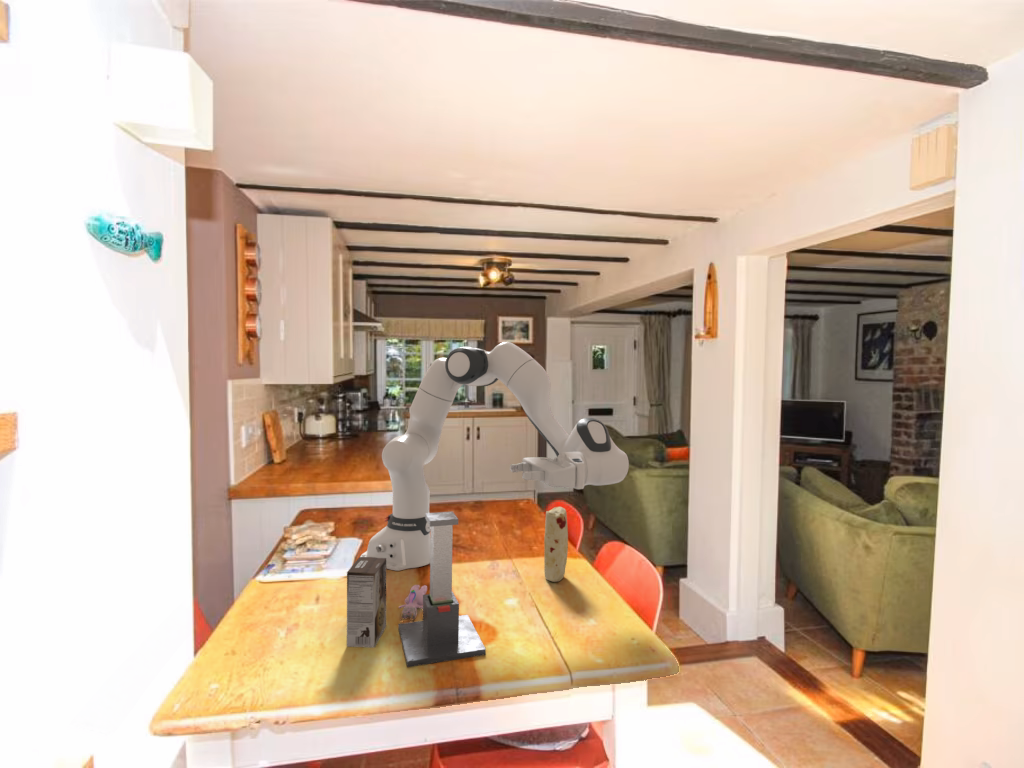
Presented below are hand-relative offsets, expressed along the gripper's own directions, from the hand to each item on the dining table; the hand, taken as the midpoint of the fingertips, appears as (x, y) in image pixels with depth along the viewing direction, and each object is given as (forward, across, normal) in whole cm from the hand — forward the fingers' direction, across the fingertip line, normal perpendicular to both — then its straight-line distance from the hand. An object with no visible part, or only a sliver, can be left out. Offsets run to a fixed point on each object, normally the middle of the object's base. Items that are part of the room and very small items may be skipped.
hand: (516, 472), depth 130 cm
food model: (-17, -16, +34) cm, 41 cm away
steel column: (+20, +10, +28) cm, 36 cm away
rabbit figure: (+23, -7, +34) cm, 42 cm away
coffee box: (+35, +3, +34) cm, 49 cm away
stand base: (+20, +10, +34) cm, 41 cm away
